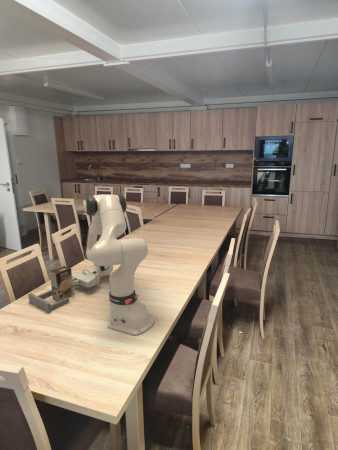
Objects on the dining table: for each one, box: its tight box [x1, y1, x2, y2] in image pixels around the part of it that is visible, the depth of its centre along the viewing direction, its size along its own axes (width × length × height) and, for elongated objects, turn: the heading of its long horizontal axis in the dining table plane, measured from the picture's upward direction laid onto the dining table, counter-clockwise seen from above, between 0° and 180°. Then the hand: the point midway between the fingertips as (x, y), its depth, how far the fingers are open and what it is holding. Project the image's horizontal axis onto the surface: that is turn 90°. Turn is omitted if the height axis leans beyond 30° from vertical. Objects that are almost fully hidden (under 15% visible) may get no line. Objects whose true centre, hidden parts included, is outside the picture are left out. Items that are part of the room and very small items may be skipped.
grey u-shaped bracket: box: [27, 289, 70, 314], centre depth 154 cm, size 18×12×5 cm
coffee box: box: [49, 265, 74, 302], centre depth 158 cm, size 9×6×16 cm
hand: (69, 283), depth 162 cm, fingers closed, pressing on coffee box
